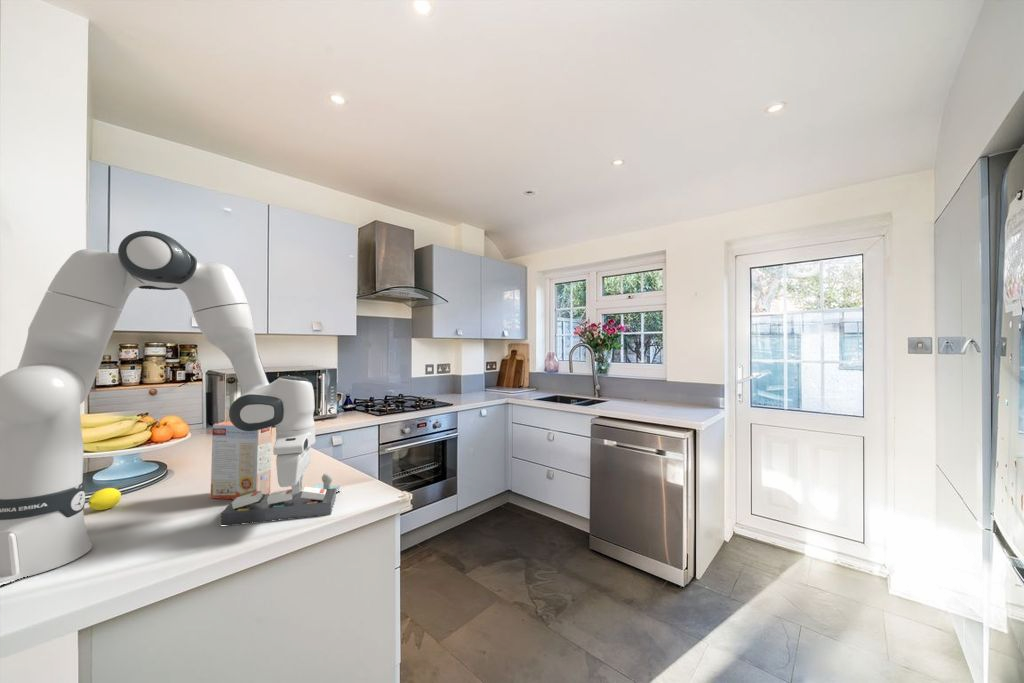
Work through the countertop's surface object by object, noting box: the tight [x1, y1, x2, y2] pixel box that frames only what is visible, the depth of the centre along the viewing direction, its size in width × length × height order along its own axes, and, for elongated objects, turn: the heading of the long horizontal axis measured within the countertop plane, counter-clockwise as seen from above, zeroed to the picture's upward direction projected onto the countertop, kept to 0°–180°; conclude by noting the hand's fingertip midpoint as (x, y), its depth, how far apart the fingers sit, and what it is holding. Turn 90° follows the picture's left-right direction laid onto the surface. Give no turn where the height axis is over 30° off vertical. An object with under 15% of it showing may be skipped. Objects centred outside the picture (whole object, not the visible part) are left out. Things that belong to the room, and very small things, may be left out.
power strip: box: [220, 488, 337, 526], centre depth 100 cm, size 24×10×4 cm, turn 108°
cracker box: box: [210, 420, 273, 500], centre depth 110 cm, size 14×6×21 cm, turn 84°
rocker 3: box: [301, 486, 327, 500], centre depth 100 cm, size 5×3×2 cm, turn 108°
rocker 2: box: [267, 488, 295, 504], centre depth 98 cm, size 5×3×2 cm, turn 108°
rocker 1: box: [231, 490, 262, 509], centre depth 95 cm, size 5×3×2 cm, turn 108°
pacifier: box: [313, 472, 342, 493], centre depth 113 cm, size 7×6×6 cm
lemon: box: [87, 487, 122, 511], centre depth 99 cm, size 7×5×5 cm
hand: (297, 491), depth 99 cm, fingers closed, pressing on rocker 2
